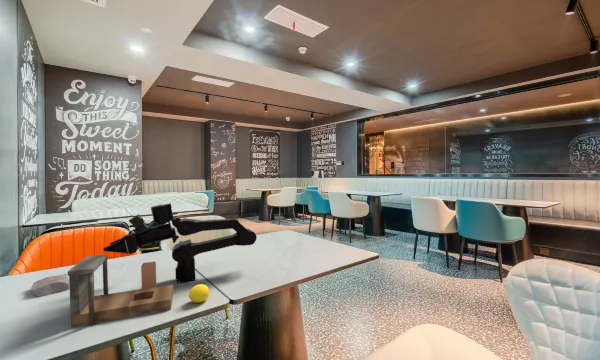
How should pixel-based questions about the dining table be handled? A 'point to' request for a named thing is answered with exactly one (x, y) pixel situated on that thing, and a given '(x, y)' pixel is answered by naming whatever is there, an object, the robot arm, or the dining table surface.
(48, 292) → the stone block
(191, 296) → the lemon
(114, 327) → the dining table surface
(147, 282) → the peg
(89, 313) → the socket stand
